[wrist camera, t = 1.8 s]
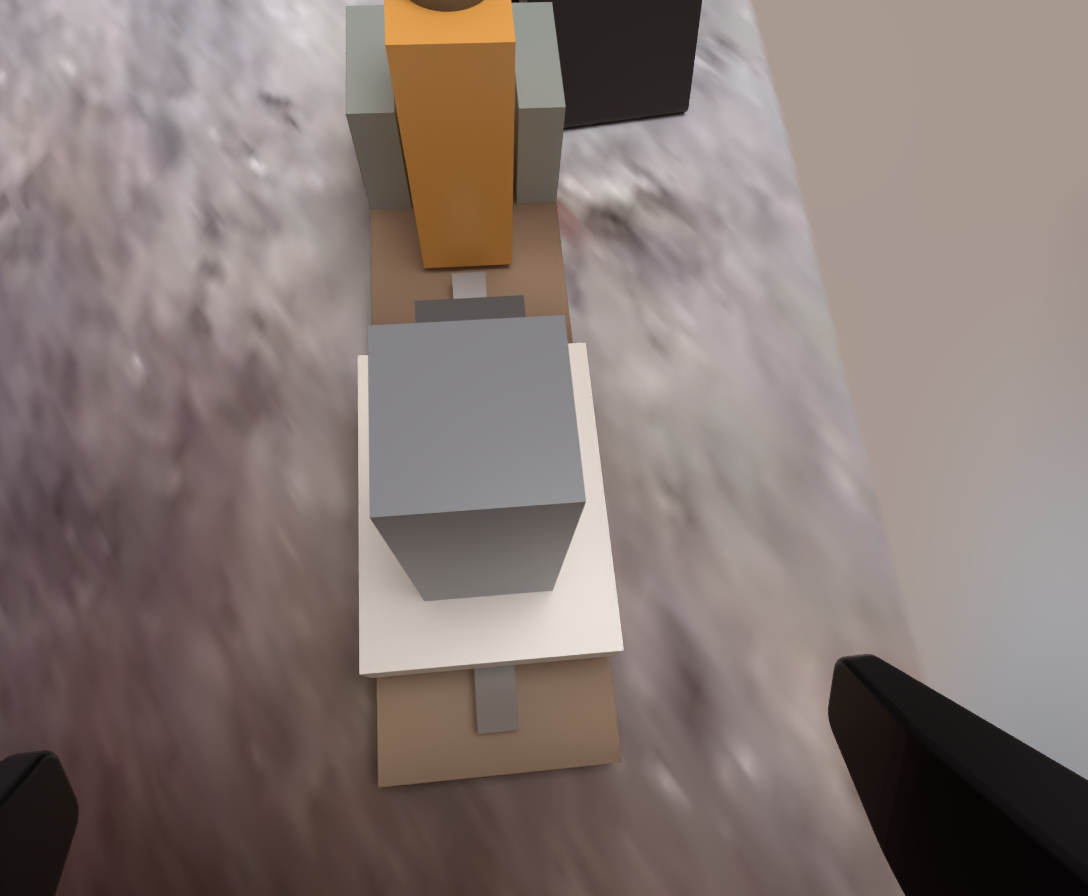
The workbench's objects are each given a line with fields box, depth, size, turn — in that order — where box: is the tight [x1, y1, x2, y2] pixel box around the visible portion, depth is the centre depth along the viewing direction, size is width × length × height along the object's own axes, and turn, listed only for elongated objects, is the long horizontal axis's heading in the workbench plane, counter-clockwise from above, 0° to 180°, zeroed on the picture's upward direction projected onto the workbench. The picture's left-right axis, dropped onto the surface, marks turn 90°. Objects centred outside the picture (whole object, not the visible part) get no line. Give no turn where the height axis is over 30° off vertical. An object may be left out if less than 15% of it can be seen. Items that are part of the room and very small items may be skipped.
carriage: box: [358, 295, 624, 678], centre depth 15 cm, size 9×6×9 cm, turn 5°
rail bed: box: [371, 172, 622, 787], centre depth 22 cm, size 21×6×2 cm, turn 5°
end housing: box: [346, 2, 566, 210], centre depth 23 cm, size 4×6×4 cm, turn 94°
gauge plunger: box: [384, 0, 516, 268], centre depth 19 cm, size 4×3×9 cm
